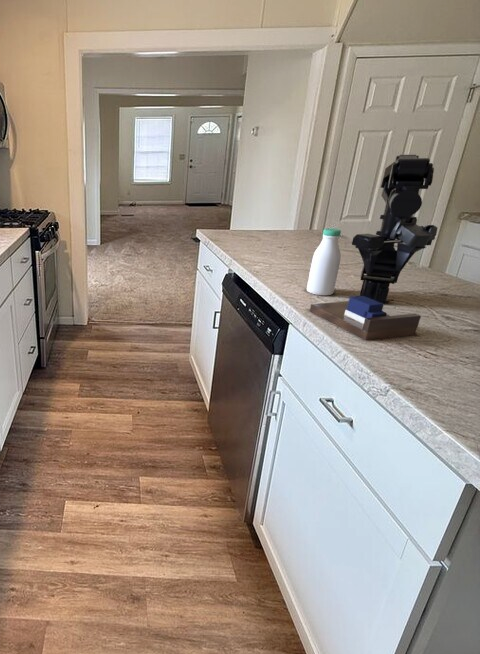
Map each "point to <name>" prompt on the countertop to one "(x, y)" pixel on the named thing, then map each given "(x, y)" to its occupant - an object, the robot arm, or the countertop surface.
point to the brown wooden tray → (368, 322)
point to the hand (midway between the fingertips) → (383, 272)
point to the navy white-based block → (364, 308)
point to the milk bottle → (325, 264)
